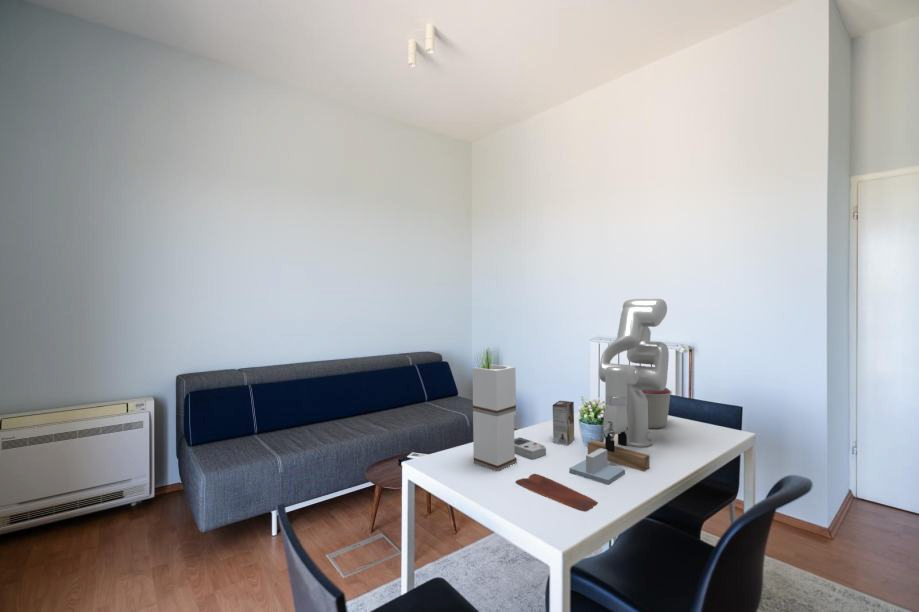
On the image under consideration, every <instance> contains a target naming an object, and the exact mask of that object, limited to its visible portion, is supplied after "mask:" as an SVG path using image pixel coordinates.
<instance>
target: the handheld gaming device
mask: <svg viewBox="0 0 919 612" xmlns="http://www.w3.org/2000/svg"><path fill="white" fill-rule="evenodd" d="M514 452H515V454H517V455H519V456H522V457H525V458H527V459H530V460H534V459H535V460H536V459H538V458H540V457H543V456H546V455H547V448H546V447H545V445H543V444H541V443H538V442H536V441H533V440H530V439H527V438H524V437H522V436H518V437H514Z"/></svg>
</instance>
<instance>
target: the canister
mask: <svg viewBox="0 0 919 612" xmlns="http://www.w3.org/2000/svg"><path fill="white" fill-rule="evenodd" d="M642 392H643V393H644V394H645V396H646V398H647V401H648V429H662V428H664V427H666V425H667V423H668V418H669V409H670V402H671V401H670V399H671V395H672V393H673V392H672V390H670V389H669V388H667V387H665V389H664V390H663V391H651V390H642Z"/></svg>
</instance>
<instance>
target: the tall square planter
mask: <svg viewBox="0 0 919 612" xmlns="http://www.w3.org/2000/svg"><path fill="white" fill-rule="evenodd" d="M489 367H490V368H482V367H475V366H474V367H472V369H471V370H472V372H471V373H472V427H473V429H472V430H473V431H472V433H473V435H472V437H473V441H472V442H473V464H475V465H477V464H478V465H477V466H480V465H481V467H483V466H484V467H483V468H486V467H487V468H486V469H488V468H489V470H491V469H492V471H494V470H495V472H497V471H498V472H500V471H502V469H503V470H505V469H507V468H509V467H511V466H510V465H512V466H513V464H514V465H516V464H518V463H517V459H518V458H517V457H516V455H515V454H516V453H515V452H514V439H515V416H516V415H517V397H516V396H517V394H516V392H517V389H516V388H517V387H516V385H517V383H516V381H517V380H516V372H517V371H516V367H515V366H509V365H503V364H502V365H500V364H492V363H491V364H489ZM515 463H516V464H515ZM508 466H509V467H508ZM506 467H507V468H506ZM504 468H505V469H504Z"/></svg>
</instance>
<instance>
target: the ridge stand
mask: <svg viewBox="0 0 919 612" xmlns="http://www.w3.org/2000/svg"><path fill="white" fill-rule="evenodd" d="M568 472H569V474H573V475H576V476H578V477H579V476H580V477H583V478H586V479H589V480H592V481H595V482H599V483H601V484H604V485H608V486H609V485H611V484H612V483H613V482H615V481H617V480H618V479H619V478H621V477H622V476H624V475H625V474H626V470H625V468H621V467H618V466H614V465H611V464H608V461H607V450H606V449H602V448H600V449H598V450H596V451H594V452H592V453H590V454H588V453H587V455H585V459H584V460H582V461H581V462H579V463H577V464H575V465H572V466H571V467H569V471H568Z"/></svg>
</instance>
